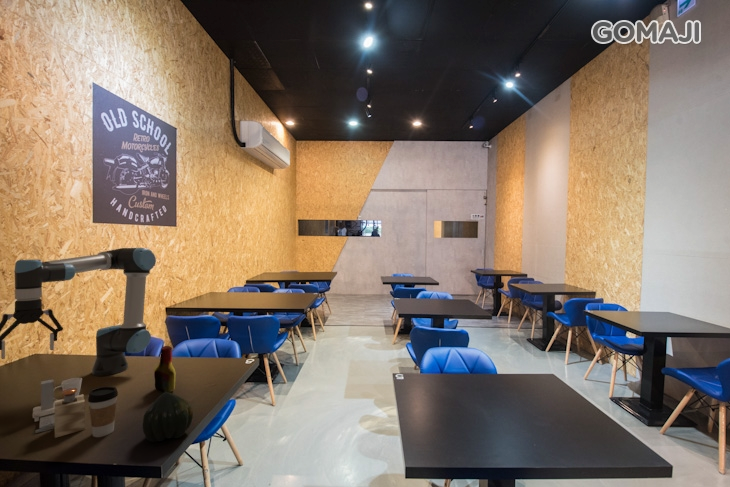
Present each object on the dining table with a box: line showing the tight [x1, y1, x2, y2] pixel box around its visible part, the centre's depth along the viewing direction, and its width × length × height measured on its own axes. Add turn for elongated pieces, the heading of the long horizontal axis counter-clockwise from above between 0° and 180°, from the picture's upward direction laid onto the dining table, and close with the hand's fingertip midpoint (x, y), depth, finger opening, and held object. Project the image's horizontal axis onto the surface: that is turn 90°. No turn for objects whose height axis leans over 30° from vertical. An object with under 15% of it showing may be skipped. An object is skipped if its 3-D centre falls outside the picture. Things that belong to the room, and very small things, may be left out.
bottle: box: [153, 345, 176, 393], centre depth 155 cm, size 12×6×20 cm, turn 58°
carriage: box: [32, 378, 55, 423], centre depth 132 cm, size 8×7×13 cm
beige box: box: [54, 393, 86, 439], centre depth 123 cm, size 8×8×10 cm
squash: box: [142, 392, 194, 443], centre depth 118 cm, size 14×15×15 cm
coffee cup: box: [87, 386, 119, 438], centre depth 120 cm, size 8×8×15 cm
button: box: [61, 388, 77, 404], centre depth 123 cm, size 4×4×7 cm
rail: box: [35, 413, 55, 434], centre depth 129 cm, size 6×19×2 cm, turn 42°
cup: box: [53, 377, 83, 401], centre depth 146 cm, size 7×10×8 cm
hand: (28, 353), depth 133 cm, fingers open, 13 cm apart
